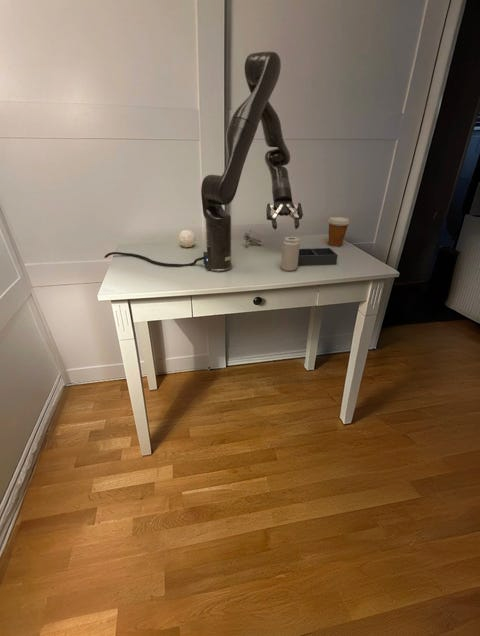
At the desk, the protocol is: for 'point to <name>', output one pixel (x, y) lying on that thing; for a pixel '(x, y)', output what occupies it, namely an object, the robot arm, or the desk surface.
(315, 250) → the divided tray
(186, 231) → the geometric ball
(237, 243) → the desk surface
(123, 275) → the desk surface
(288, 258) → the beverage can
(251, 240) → the elephant figurine
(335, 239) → the disposable coffee cup
